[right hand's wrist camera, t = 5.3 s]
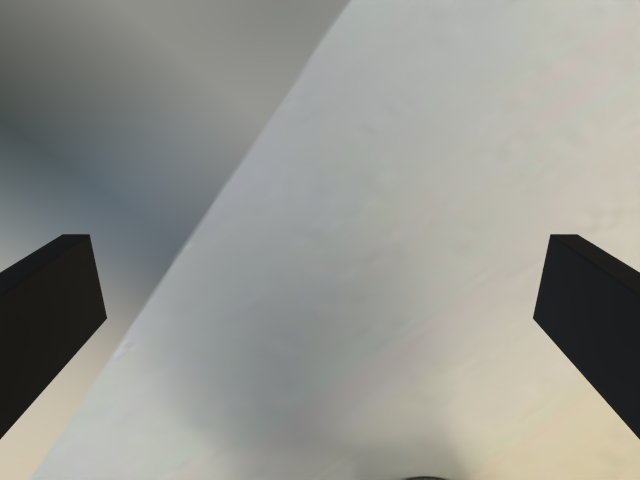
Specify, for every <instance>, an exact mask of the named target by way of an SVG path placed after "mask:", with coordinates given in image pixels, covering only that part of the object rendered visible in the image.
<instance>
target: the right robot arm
mask: <svg viewBox="0 0 640 480" xmlns="http://www.w3.org/2000/svg"><path fill="white" fill-rule="evenodd" d="M106 319H107V316H106V311H105V306H104V301H103V297H102V292H101V287H100V282H99V277H98V273H97V268H96V263H95V258H94V253H93V249H92V244H91V239H90V235H89V234H63V235H61V236H59V237H58V238H56V239H54V240H53V241H51V242H49V243H48V244H46V245H45V246H43V247H41V248H40V249H38V250H36V251H35V252H33V253H32V254H30V255H28V256H27V257H25V258H23V259H22V260H20V261H18V262H17V263H15V264H14V265H12V266H10V267H9V268H7V269H5V270H4V271H2V272H1V273H0V439H1V438H2V437H3V436H4V435H5V433H6V432H7V431H8V430H9V429H10V428H11V427H12V426H13V424H14V423H15V422H16V421H17V420H18V419H19V418H20V416H21V415H22V414H23V413H24V412H25V411H26V410H27V409H28V407H29V406H30V405H31V404H32V403H33V402H34V401H35V399H36V398H37V397H38V396H39V395H40V394H41V393H42V391H43V390H44V389H45V388H46V387H47V386H48V385H49V384H50V382H51V381H52V380H53V379H54V378H55V377H56V376H57V375H58V373H59V372H60V371H61V370H62V369H63V368H64V367H65V365H66V364H67V363H68V362H69V361H70V360H71V359H72V358H73V356H74V355H75V354H76V353H77V352H78V351H79V350H80V348H81V347H82V346H83V345H84V344H85V343H86V342H87V341H88V339H89V338H90V337H91V336H92V335H93V334H94V332H95V331H96V330H97V329H98V328H99V327H100V326H101V325H102V323H103V322H104V321H105V320H106ZM533 319H534V320H535V321H536V322H537V323H538V325H539V326H540V327H541V328H542V329H543V330H544V331H545V333H546V334H547V335H548V336H549V337H550V338H551V339H552V341H553V342H554V343H555V344H556V345H557V346H558V347H559V348H560V350H561V351H562V352H563V353H564V354H565V355H566V356H567V358H568V359H569V360H570V361H571V362H572V363H573V364H574V365H575V367H576V368H577V369H578V370H579V371H580V372H581V373H582V375H583V376H584V377H585V378H586V379H587V380H588V381H589V382H590V384H591V385H592V386H593V387H594V388H595V389H596V390H597V392H598V393H599V394H600V395H601V396H602V397H603V398H604V399H605V401H606V402H607V403H608V404H609V405H610V406H611V407H612V409H613V410H614V411H615V412H616V413H617V414H618V415H619V416H620V418H621V419H622V420H623V421H624V422H625V423H626V424H627V426H628V427H629V428H630V429H631V430H632V431H633V432H634V433H635V435H636V436H637V437H638V438H639V439H640V272H638V271H636V270H635V269H633V268H631V267H630V266H628V265H626V264H625V263H623V262H622V261H620V260H618V259H617V258H615V257H613V256H612V255H610V254H608V253H607V252H605V251H604V250H602V249H600V248H599V247H597V246H595V245H594V244H592V243H591V242H589V241H587V240H586V239H584V238H582V237H581V236H579V235H577V234H550V239H549V244H548V249H547V253H546V258H545V263H544V268H543V273H542V277H541V282H540V287H539V292H538V297H537V301H536V306H535V311H534V316H533ZM412 480H440V479H433V478H419V479H412Z"/></svg>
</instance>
